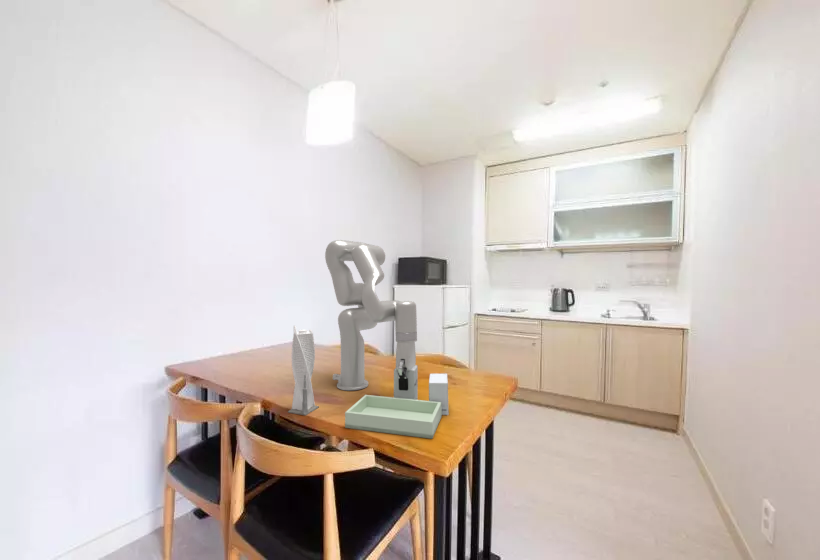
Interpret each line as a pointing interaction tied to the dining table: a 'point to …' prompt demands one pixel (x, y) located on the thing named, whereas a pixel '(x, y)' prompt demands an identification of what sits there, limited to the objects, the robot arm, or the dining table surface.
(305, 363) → the skyscraper
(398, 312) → the robot arm
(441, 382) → the skincare box
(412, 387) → the supplement box
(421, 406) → the tray
